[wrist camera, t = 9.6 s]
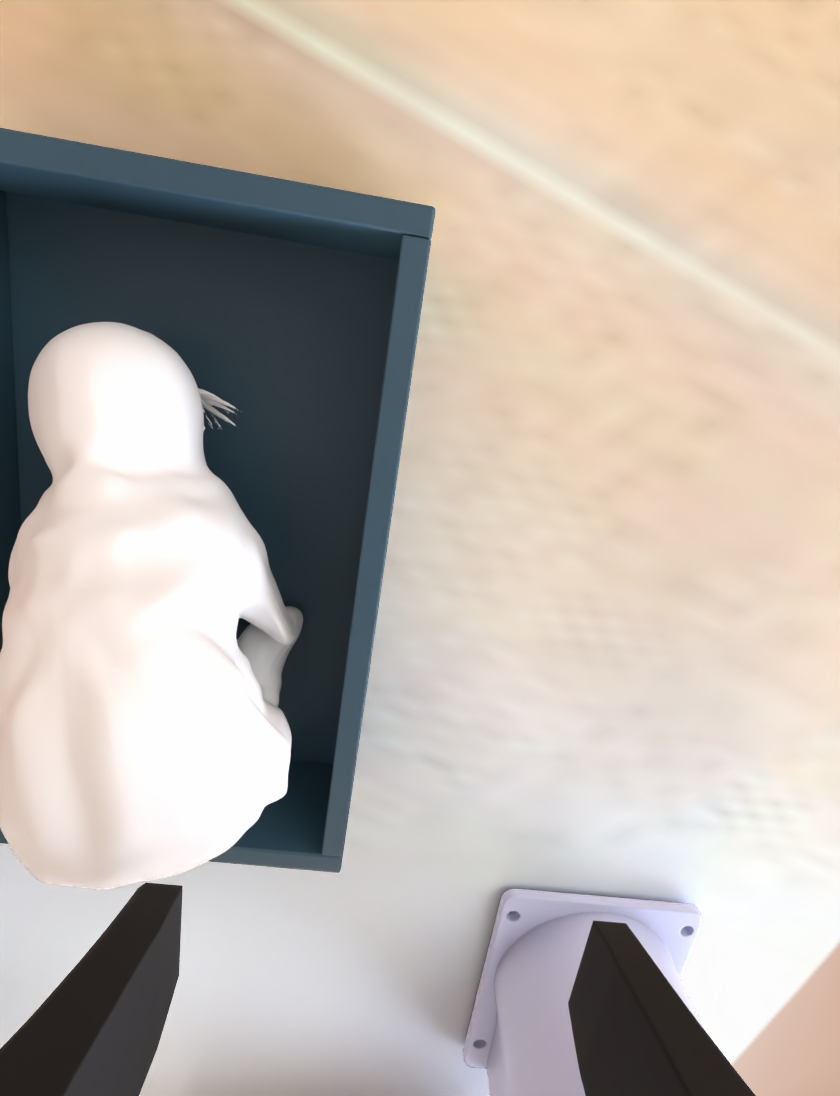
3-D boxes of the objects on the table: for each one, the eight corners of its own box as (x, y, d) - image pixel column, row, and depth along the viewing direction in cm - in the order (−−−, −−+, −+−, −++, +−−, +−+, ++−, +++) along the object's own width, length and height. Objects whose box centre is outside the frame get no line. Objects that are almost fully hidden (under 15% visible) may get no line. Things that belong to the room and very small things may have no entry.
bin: (350, 770, 22) (339, 873, 17) (22, 737, 21) (-74, 837, 17) (425, 242, 17) (436, 206, 12) (-8, 166, 16) (-159, 98, 11)
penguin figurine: (-59, 963, 12) (-284, 295, 9) (133, 733, 20) (45, 350, 17) (272, 927, 12) (145, 252, 9) (325, 712, 20) (268, 327, 17)
